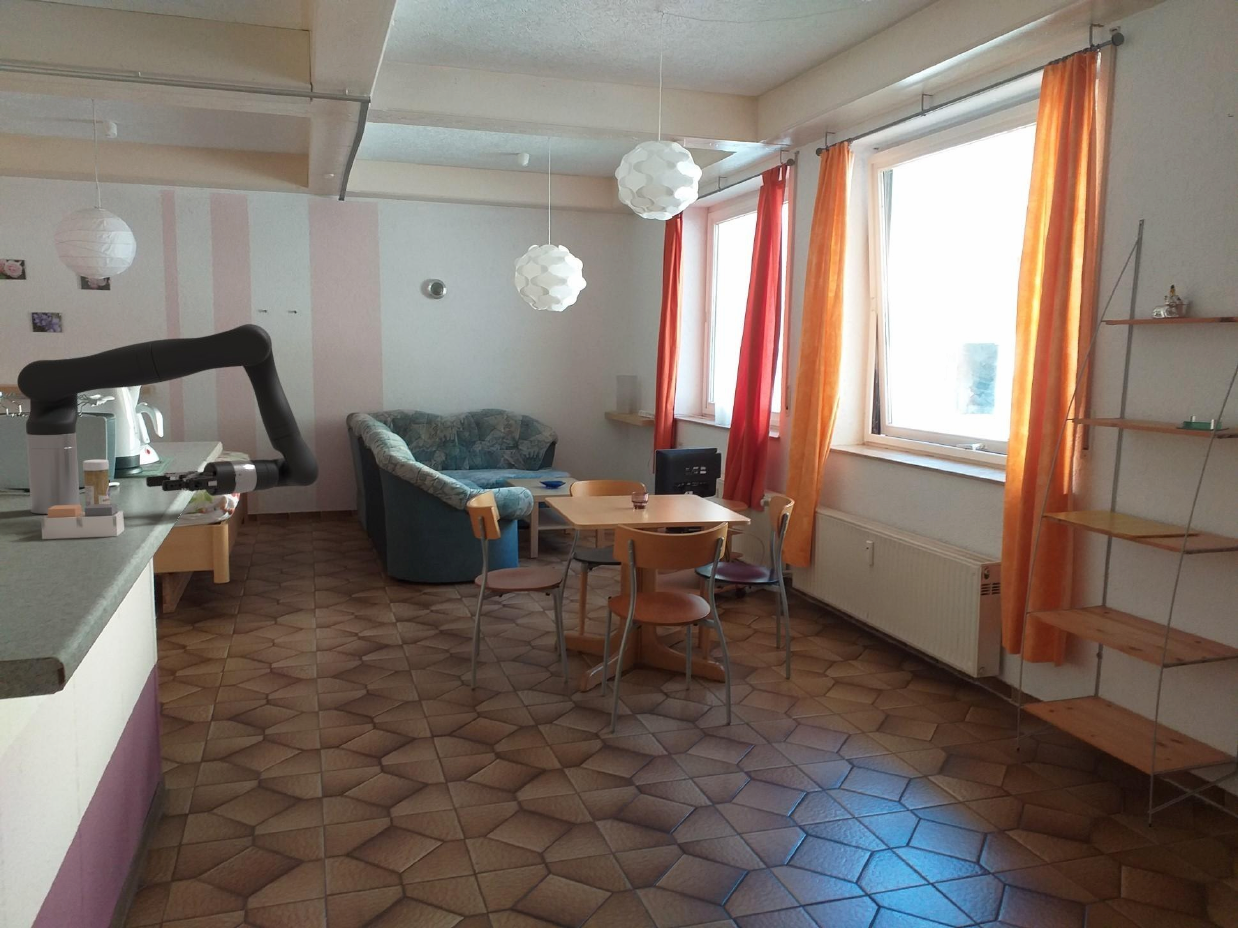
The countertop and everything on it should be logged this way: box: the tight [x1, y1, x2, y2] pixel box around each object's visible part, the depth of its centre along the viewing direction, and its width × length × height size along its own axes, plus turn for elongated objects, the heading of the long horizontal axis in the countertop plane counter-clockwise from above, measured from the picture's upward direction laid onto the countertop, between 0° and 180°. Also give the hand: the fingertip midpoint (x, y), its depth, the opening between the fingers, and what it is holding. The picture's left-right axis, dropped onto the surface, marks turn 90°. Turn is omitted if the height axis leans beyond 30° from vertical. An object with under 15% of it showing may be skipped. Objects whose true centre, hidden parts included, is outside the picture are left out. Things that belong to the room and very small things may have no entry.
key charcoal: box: [84, 503, 118, 517], centre depth 176 cm, size 5×5×2 cm
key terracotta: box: [47, 504, 83, 518], centre depth 174 cm, size 5×5×2 cm
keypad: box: [40, 510, 125, 540], centre depth 175 cm, size 6×13×4 cm, turn 108°
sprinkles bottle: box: [82, 458, 111, 508], centre depth 184 cm, size 5×5×14 cm
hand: (154, 484), depth 192 cm, fingers open, 8 cm apart
